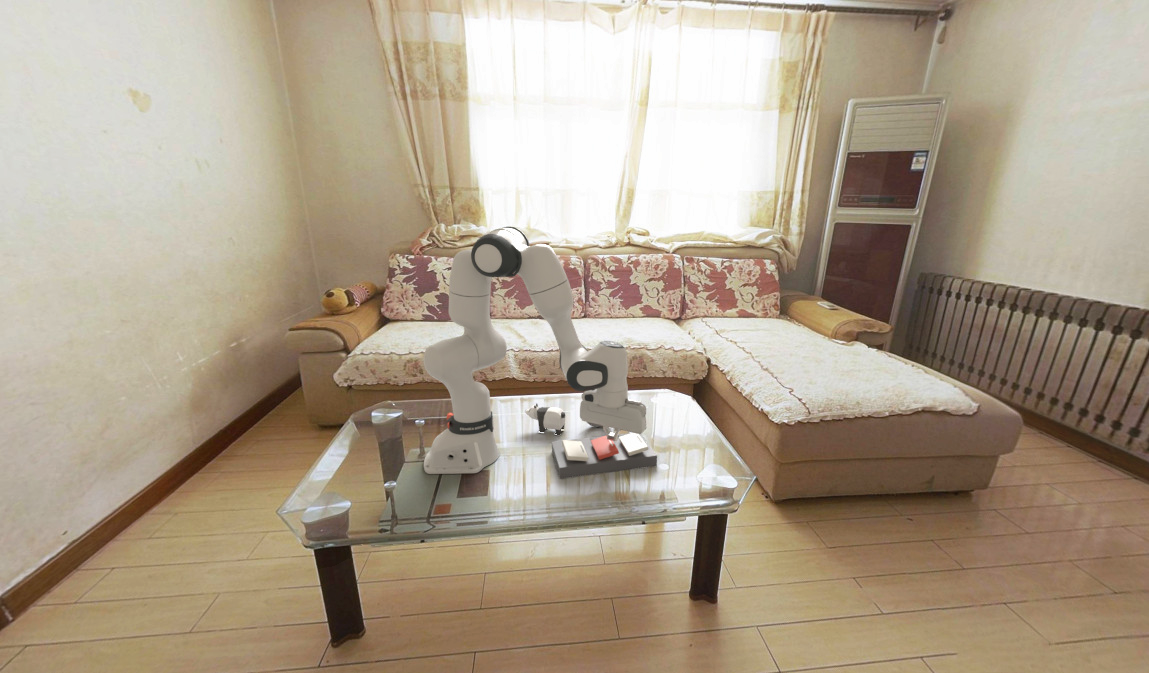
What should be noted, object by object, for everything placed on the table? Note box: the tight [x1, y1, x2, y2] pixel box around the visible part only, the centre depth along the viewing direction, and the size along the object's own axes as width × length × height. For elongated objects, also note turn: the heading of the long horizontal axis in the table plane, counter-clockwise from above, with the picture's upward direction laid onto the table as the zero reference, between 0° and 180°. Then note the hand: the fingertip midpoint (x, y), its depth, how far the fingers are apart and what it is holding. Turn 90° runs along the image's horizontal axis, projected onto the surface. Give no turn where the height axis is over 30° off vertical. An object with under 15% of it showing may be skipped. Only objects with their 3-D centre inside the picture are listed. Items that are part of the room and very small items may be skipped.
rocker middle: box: [591, 434, 619, 460], centre depth 125 cm, size 6×10×1 cm, turn 12°
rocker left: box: [561, 439, 589, 461], centre depth 123 cm, size 6×10×1 cm, turn 11°
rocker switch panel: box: [551, 432, 658, 480], centre depth 128 cm, size 29×15×4 cm, turn 101°
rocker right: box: [619, 432, 648, 456], centre depth 127 cm, size 6×10×1 cm, turn 12°
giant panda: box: [524, 402, 566, 436], centre depth 145 cm, size 15×6×10 cm, turn 72°
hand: (612, 439), depth 125 cm, fingers closed
